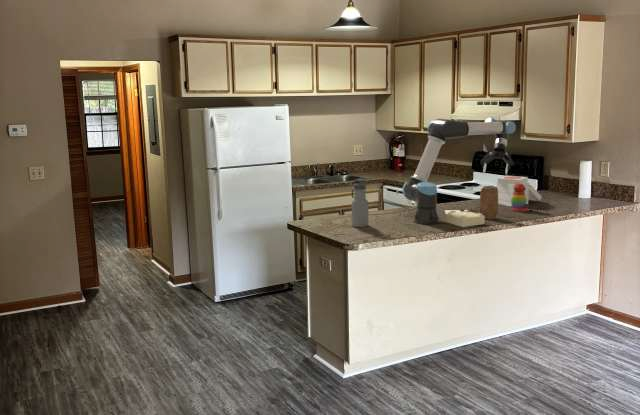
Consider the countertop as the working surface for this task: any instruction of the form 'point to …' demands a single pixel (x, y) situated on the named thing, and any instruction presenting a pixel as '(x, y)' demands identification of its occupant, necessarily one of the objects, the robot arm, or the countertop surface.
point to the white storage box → (507, 189)
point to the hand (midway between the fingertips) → (494, 172)
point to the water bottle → (359, 204)
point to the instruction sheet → (452, 211)
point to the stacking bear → (519, 198)
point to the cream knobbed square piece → (465, 218)
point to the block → (489, 202)
